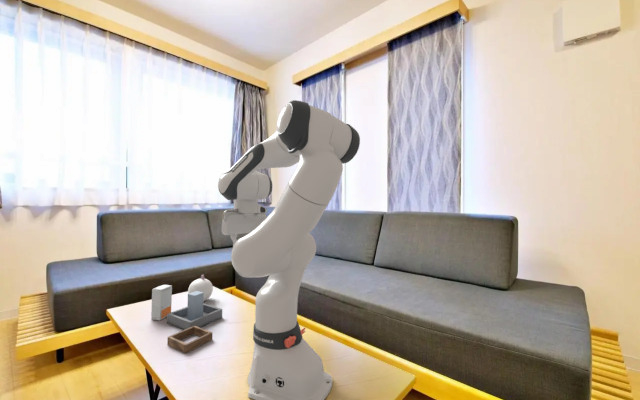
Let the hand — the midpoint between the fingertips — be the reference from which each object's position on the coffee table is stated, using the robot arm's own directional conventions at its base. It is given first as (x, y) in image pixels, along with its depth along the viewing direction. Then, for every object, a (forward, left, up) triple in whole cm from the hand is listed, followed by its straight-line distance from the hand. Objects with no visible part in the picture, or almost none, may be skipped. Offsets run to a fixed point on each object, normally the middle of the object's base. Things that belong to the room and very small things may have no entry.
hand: (245, 245), depth 103 cm
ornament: (+34, -6, -30) cm, 46 cm away
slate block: (+18, +8, -29) cm, 35 cm away
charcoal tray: (+18, +8, -30) cm, 36 cm away
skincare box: (+32, +13, -30) cm, 46 cm away
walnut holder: (+5, +19, -30) cm, 36 cm away
